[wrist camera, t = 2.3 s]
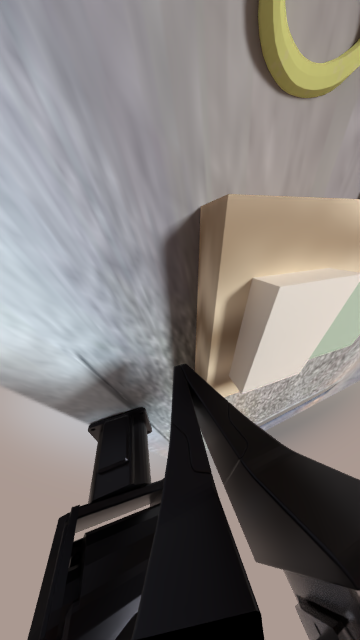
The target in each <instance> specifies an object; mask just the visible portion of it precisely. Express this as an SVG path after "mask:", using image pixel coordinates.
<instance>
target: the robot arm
mask: <svg viewBox="0 0 360 640" xmlns="http://www.w3.org/2000/svg"><path fill="white" fill-rule="evenodd" d="M200 430H201V431H200ZM88 432H89V433H90V434H91V435H92V436H93V437H94V438H95V439H96V440H97V442H98V445H97V451H96V458H95V464H94V470H93V477H92V482H91V489H90V495H89V501H88V504H86V505H83V506H80V505H78V506H75V507H72V509H71V512H70V513H67V514H66V515H64V516H62V517H60V518H59V520H58V524H57V528H56V532H55V535H54V539H53V543H52V548H51V551H50V555H49V559H48V563H47V567H46V571H45V574H44V578H43V582H42V586H41V590H40V594H39V598H38V602H37V605H36V609H35V613H34V617H33V621H32V625H31V628H30V632H29V636H28V640H264V634H263V627H262V618H261V613H260V611H259V608H258V605H257V602H256V599H255V596H254V594H253V591H252V588H251V586H250V583H249V580H248V577H247V574H246V571H245V569H244V566H243V563H242V561H241V558H240V555H239V552H238V549H237V547H236V544H235V541H234V538H233V536H232V533H231V530H230V527H229V524H228V522H227V519H226V516H225V513H224V511H223V508H222V505H221V502H220V499H219V497H218V493H217V490H216V487H215V483H214V480H213V476H212V474H211V468H210V465H209V461H208V457H207V454H206V450H205V446H204V442H203V438H202V435H201V432H202V434H203V437H204V439H205V442H206V444H207V446H208V449H209V451H210V454H211V456H212V458H213V461H214V463H215V465H216V467H217V470H218V473H219V475H220V477H221V480H222V482H223V484H224V487H225V489H226V492H227V494H228V497H229V499H230V501H231V504H232V506H233V508H234V511H235V513H236V516H237V518H238V520H239V523H240V525H241V528H242V530H243V532H244V535H245V537H246V539H247V542H248V544H249V547H250V549H251V551H252V554H253V556H254V559H255V561H256V562H258V563H261V564H265V565H268V566H272V567H275V568H279V569H283V570H284V572H285V575H286V577H287V579H288V581H289V583H290V586H291V588H292V590H293V592H294V594H295V597H296V599H297V601H298V604H297V605H296V606H295V607H296V610H297V612H298V615H299V617H300V619H301V622H302V624H303V626H304V628H305V631H306V633H307V635H308V637H309V639H310V640H360V480H359V479H356V478H354V477H351V476H349V475H347V474H344V473H342V472H340V471H338V470H335V469H333V468H331V467H328V466H326V465H324V464H322V463H319V462H317V461H315V460H312V459H310V458H307V457H306V456H303V455H301V454H299V453H296V452H294V451H293V450H291V449H289V448H287V447H286V446H284V445H283V444H281V443H280V442H279V441H277V440H276V439H275V438H273V437H272V436H271V435H269V434H268V433H266V432H265V431H264V430H263V429H261V428H260V427H259V426H257V425H256V424H255V423H253V422H252V421H251V420H249V419H248V418H247V417H246V416H244V415H243V414H242V413H241V412H240V411H238V410H237V409H236V408H235V407H234V406H233V405H232V404H231V403H229V402H228V401H227V400H226V399H225V398H224V397H223V396H222V395H220V394H219V393H218V392H217V391H216V390H215V389H214V388H213V387H212V386H210V385H209V384H208V383H207V382H206V381H205V380H204V379H203V378H202V377H201V376H199V375H198V374H197V373H196V372H195V371H194V370H193V369H192V368H191V367H189V366H188V365H187V364H182V365H178V366H175V367H174V376H173V394H172V413H171V431H170V443H169V452H168V459H167V465H166V472H165V478H164V479H163V480H160V481H158V482H154V483H151V476H150V463H149V451H148V439H147V434H149V433H151V432H152V427H151V424H150V421H149V418H148V415H147V412H146V409H145V408H140V409H137V410H134V411H130V412H127V413H124V414H121V415H118V416H115V417H112V418H109V419H106V420H103V421H100V422H96V423H93V424H91V425H89V428H88ZM148 504H150V507H149V508H147V509H144V510H142V511H139V512H137V513H134V514H132V515H129V516H127V517H124V518H122V519H119V520H117V521H114V522H112V523H109V524H107V525H104V526H102V527H99V528H97V529H94V530H92V531H89V532H87V533H85V535H84V537H83V538H81V539H79V540H76V541H74V535H75V533H77V532H79V531H82V530H84V529H87V528H89V527H92V526H95V525H97V524H100V523H102V522H105V521H108V520H110V519H113V518H115V517H118V516H120V515H123V514H126V513H128V512H130V511H133V510H136V509H138V508H141V507H143V506H146V505H148ZM79 506H80V507H79ZM73 541H74V542H73Z"/></svg>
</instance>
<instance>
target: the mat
mask: <svg viewBox="0 0 360 640" xmlns="http://www.w3.org/2000/svg"><path fill="white" fill-rule="evenodd" d="M359 335H360V282H359V283H358V285H357V286H356V288H355V289H354V291H353V293H352V294H351V296H350V297H349V299H348V300H347V302H346V303H345V305H344V306H343V308H342V309H341V311H340V312H339V314H338V315H337V317H336V318H335V320H334V321H333V323H332V324H331V326H330V328H329V329H328V331H327V332H326V334H325V335H324V337H323V338H322V340H321V341H320V343H319V344H318V346H317V347H316V349H315V350H314V352H313V353H312V355H311V356H310V358H309V359H312V358H315V357H318V356H321V355H324V354H327V353H330V352H333V351H336V350H339V349H342V348H345V347H348V346H351V345H352V344H353V342H354V341H355V340H356V339H357V337H358V336H359ZM309 359H308V360H309Z"/></svg>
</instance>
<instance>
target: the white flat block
mask: <svg viewBox="0 0 360 640" xmlns="http://www.w3.org/2000/svg"><path fill="white" fill-rule="evenodd" d="M359 282H360V273H359V272H352V271H346V270H339V269H332V268H324V269H316V270H308V271H301V272H293V273H285V274H278V275H270V276H262V277H255V278H252V283H251V287H250V291H249V295H248V299H247V303H246V307H245V311H244V316H243V320H242V324H241V328H240V332H239V336H238V340H237V344H236V348H235V353H234V357H233V361H232V365H231V369H230V373H229V377H230V378H231V380H232V381H233V383H234V384H235V385H236V387H237V388H238V390H239V391H240V393H241V394H243V393H246V392H249V391H252V390H255V389H257V388H260V387H263V386H266V385H268V384H271V383H274V382H277V381H280V380H282V379H285V378H288V377H291V376H293V375H296V374H299V373H300V372H301V370H302V369H303V367H304V366H305V364H306V363H307V361H308V359H309V358H310V356H311V355H312V353H313V352H314V350H315V349H316V347H317V346H318V344H319V343H320V341H321V340H322V338H323V337H324V335H325V334H326V332H327V331H328V329H329V328H330V326H331V324H332V323H333V321H334V320H335V318H336V317H337V315H338V314H339V312H340V311H341V309H342V308H343V306H344V305H345V303H346V302H347V300H348V299H349V297H350V296H351V294H352V293H353V291H354V289H355V288H356V286H357V285H358V283H359Z"/></svg>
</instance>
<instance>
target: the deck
mask: <svg viewBox="0 0 360 640" xmlns="http://www.w3.org/2000/svg"><path fill="white" fill-rule="evenodd" d="M324 268H332V269H339V270H346V271H352V272H359V273H360V199H339V198H313V197H288V196H262V195H237V194H228V195H225V196H223V197H221V198H219V199H216V200H214V201H212V202H210V203H208V204H205V205H203V206H201V213H200V240H199V268H198V295H197V323H196V350H195V372H196V373H197V374H198V375H199V376H201V377H202V378H203V379H204V380H205V381H206V382H207V383H208V384H209V385H210V386H212V387H213V388H214V389H215V390H216V391H217V392H218V393H219V394H220V395H222V396H223V397H226V396H229V395H232V394H235V393H238V392H240V391H239V390H238V388H237V387H236V385H235V384H234V383H233V381H232V380H231V378H230V377H229V373H230V369H231V365H232V361H233V357H234V353H235V348H236V344H237V340H238V336H239V332H240V328H241V324H242V320H243V316H244V311H245V307H246V303H247V299H248V295H249V291H250V287H251V283H252V278H255V277H262V276H270V275H278V274H285V273H293V272H301V271H308V270H316V269H324Z"/></svg>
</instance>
